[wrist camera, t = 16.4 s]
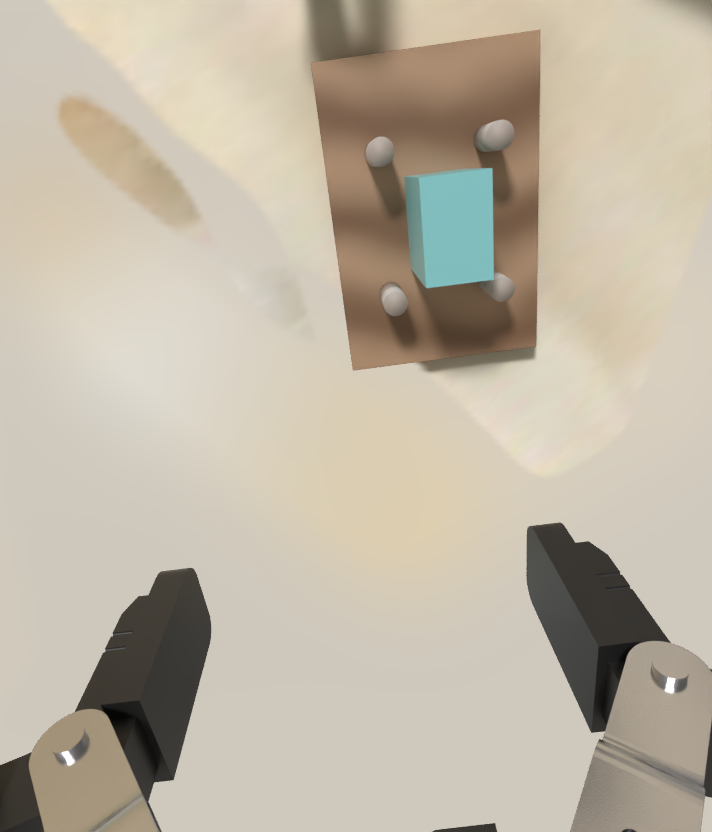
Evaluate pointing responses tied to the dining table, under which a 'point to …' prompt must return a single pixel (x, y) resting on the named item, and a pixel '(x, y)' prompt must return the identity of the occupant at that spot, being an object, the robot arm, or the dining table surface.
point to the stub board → (421, 154)
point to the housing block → (451, 226)
